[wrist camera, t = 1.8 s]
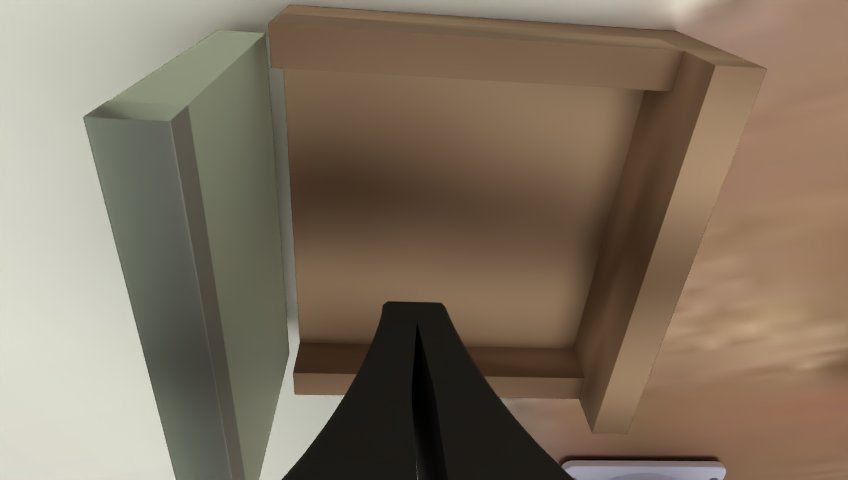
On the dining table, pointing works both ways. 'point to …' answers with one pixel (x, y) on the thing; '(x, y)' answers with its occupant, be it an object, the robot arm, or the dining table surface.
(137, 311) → the panel
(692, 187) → the tray
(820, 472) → the dining table surface
